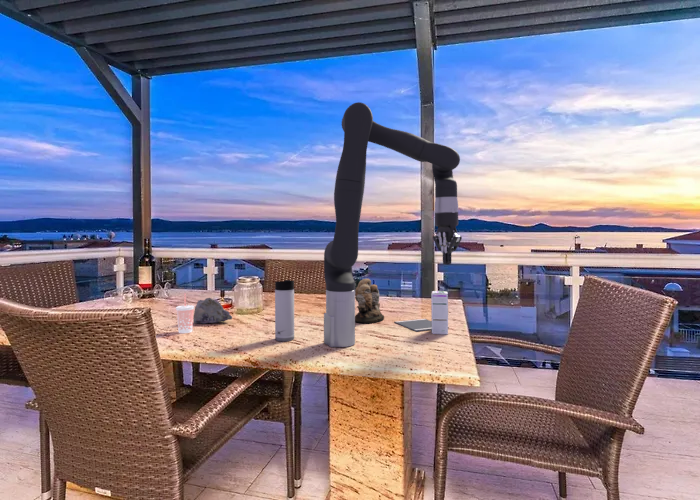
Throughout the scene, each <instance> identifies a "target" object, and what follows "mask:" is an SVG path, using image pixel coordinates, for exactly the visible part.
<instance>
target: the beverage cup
mask: <svg viewBox="0 0 700 500" xmlns="http://www.w3.org/2000/svg"><path fill="white" fill-rule="evenodd" d="M183 295H184V297H183V298H184V299H183V301H184V302H183V305H179V306H178V305H177V306H176V307H175V310H176V316H177V329H178V333H179V334H189V333H192V332H193V328H194V327H193V325H194V321H193V320H194V311H195V305H192V304H191V305H189V304H188V305H187V300H186V299H187V297H186V296H187V294H186V292H184V293H183Z"/></svg>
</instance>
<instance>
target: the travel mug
mask: <svg viewBox="0 0 700 500" xmlns="http://www.w3.org/2000/svg"><path fill="white" fill-rule="evenodd" d="M274 287H275V288H274V313H275V314H274V315H275V316H274V328H275V329H274V332H275V333H274V334H275V336H274V337H275V338H274V339H275V340H276V341H277V342H286V343H287V342H290V341H293V340H294V339H295V280H290V279H285V280H280V281H278V280H277V281H274Z"/></svg>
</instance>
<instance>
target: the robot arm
mask: <svg viewBox="0 0 700 500" xmlns="http://www.w3.org/2000/svg"><path fill="white" fill-rule="evenodd" d="M341 129H342V131H343V132H344V133H343V147H342V151H341V155H340V160H339V161H338V162H339V163H338V166H337V171H336V176H335V182H334V192H333V203H334V204H333V205H334V212H335V213H334V214H335V229H334V235H333V239H332V240H331V241H329V242H328V243H327V245H326V247H325V249H324V254H323V256H324V257H323V265H324V266H323V270H324V271H323V272H324V281H325V312H324V313H323V343H324V344H325V345H327V346H328V347H330V348H342V347H343V348H346V347H352V346H353V345H355V343H356V322H355V316H356V298H355V290H356V281H355V279H354V276H353V266H354V265H355V264H356V262H357V260H358V256H359V232H360V231H359V229H360V228H359V227H360V219H361V215H362V214H361V213H362V206H363V199H364V194H365V186H366V173H367V172H366V170H367V150H368V145H369V143H372V144H375V145H378V146H381V147H385V148H387V149H389V150H393V151H394V152H397V153H399V154H401V155H404V156H406V157H407V158H408V157H409V158H410V159H413V160H416V161H417V162H420V163H428V164H429V163H430V164H431V167H432V175H433V180H434V186H435V187H434V190H435V191H434V192H435V193H434V194H435V196H434V197H435V200H434V225H435V227H437V230H436V235H432V240H433V242H434V243H435V246H436V248H437V250H438V251H439V252H441V253H442V264H443V265H452V253H453V252H456V251H457V249H458V247H459V245H460V243H461V241H462V235H458V230H457V228H456V227H458V225H459V201H458V185H457V184H458V183H457V181H456V179H454V174H453V170H455V169H456V168H458V166H459V164H460V162H461V161H460V160H461V157H460V155H459V152H458V151H457V150H455V149H454V148H452V147H450V146H447V145H443V144H440V143H437V142H432V141H429V140H427V139H425V138H424V137H421V136H418V135H417V134H414V133H411V132H408V131H403V130H400V129H395V128H390V127H387V126H384V125H382V124H380V123H377V122H375V121H374V115H373V112H372V110H371V108H370V107H369V105H367V104H366V103H363V102H360V101H358V102H354V103H352V104H351V105H349V106H348V107H347V108H346V109H345V111H344V113H343V116H342V119H341Z"/></svg>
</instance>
